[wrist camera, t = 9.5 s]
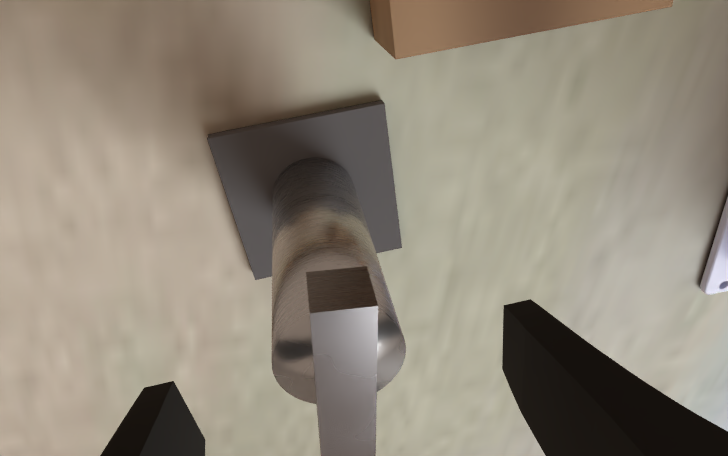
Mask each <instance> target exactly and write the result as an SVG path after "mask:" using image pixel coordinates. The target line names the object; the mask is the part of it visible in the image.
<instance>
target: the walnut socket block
mask: <svg viewBox="0 0 728 456" xmlns="http://www.w3.org/2000/svg"><path fill="white" fill-rule="evenodd" d="M672 4H673V0H370V7H371V15H372V24H373V32H374V40H375V41H376V42H378V43H379V44H380V45H381V46H382V47H383V48H384V49H385V50H386V51H387V52H388V53H389V54H390V55H392V56H393V57H394V58H395V59H400V58H405V57H411V56H416V55H421V54H426V53H431V52H437V51H442V50H447V49H452V48H458V47H463V46H468V45H473V44H478V43H484V42H489V41H494V40H499V39H505V38H510V37H515V36H520V35H526V34H531V33H536V32H541V31H546V30H552V29H557V28H562V27H567V26H573V25H578V24H583V23H588V22H593V21H599V20H604V19H609V18H614V17H620V16H625V15H630V14H635V13H641V12H646V11H651V10H656V9H661V8H667V7H672Z"/></svg>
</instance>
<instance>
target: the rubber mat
mask: <svg viewBox="0 0 728 456" xmlns="http://www.w3.org/2000/svg"><path fill="white" fill-rule="evenodd" d="M207 140H208V143H209V146H210V149H211V151H212V154H213V157H214V160H215V163H216V166H217V169H218V172H219V175H220V178H221V181H222V184H223V187H224V190H225V193H226V195H227V198H228V201H229V204H230V207H231V210H232V213H233V216H234V219H235V222H236V225H237V228H238V231H239V234H240V236H241V239H242V242H243V245H244V248H245V251H246V254H247V257H248V260H249V263H250V266H251V269H252V272H253V275H254V277H255V280H257V279H262V278H266V277H271V276H272V210H273V188H274V184H275V182H276V179H277V178H278V176H279V175H280V173H281V172H282V171H283V170H284V169H285V168H286V167H288V166H289V165H290V164H292V163H294V162H296V161H299V160H301V159H305V158H324V159H328V160H331V161H334V162H335V163H337V164H339V165H340V166H342V167H343V168H344V169H345V170H346V171H347V172H348V174H349V175H350V177H351V179H352V181H353V183H354V187H355V190H356V193H357V196H358V199H359V202H360V205H361V208H362V211H363V214H364V217H365V220H366V223H367V226H368V230H369V233H370V236H371V239H372V242H373V245H374V248H375V251H376V253H380V252H384V251H389V250H393V249H398V248H402V244H401V236H400V228H399V220H398V211H397V203H396V195H395V187H394V178H393V170H392V162H391V154H390V146H389V137H388V129H387V121H386V113H385V104H384V102H383V101H382V100H381V101H376V102H371V103H366V104H361V105H356V106H350V107H345V108H340V109H335V110H330V111H325V112H320V113H315V114H310V115H305V116H300V117H295V118H290V119H285V120H280V121H274V122H269V123H264V124H259V125H254V126H249V127H244V128H239V129H234V130H229V131H224V132H219V133H214V134H209V135H208V138H207Z"/></svg>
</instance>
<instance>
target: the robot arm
mask: <svg viewBox="0 0 728 456" xmlns="http://www.w3.org/2000/svg"><path fill="white" fill-rule="evenodd" d="M700 289H701V290H702V291H703V292H704V293H706V294H708V295H710V294H716V293H720V292H724V291H728V197H727V200H726V204H725V207H724V210H723V213H722V216H721V220H720V223H719V226H718V229H717V232H716V236H715V239H714V242H713V245H712V249H711V252H710V255H709V258H708V261H707V265H706V268H705V271H704V274H703V278H702V281H701V284H700ZM502 369H503V372H504V374H505V376H506V379H507V381H508V383H509V386H510V388H511V391H512V393H513V395H514V397H515V400H516V402H517V404H518V406H519V409H520V411H521V413H522V415H523V416H524V418H525V420H526V422H527V424H528V425H529V427H530V429H531V431H532V432H533V434H534V436H535V438H536V439H537V441H538V443H539V445H540V446H541V448H542V450H543V452H544V453H545V455H546V456H728V432H727V431H726V430H724V429H722V428H720V427H718V426H717V425H715V424H713V423H711V422H709V421H708V420H706V419H704V418H702V417H701V416H699V415H697V414H695V413H694V412H692V411H690V410H689V409H687V408H685V407H684V406H682V405H680V404H679V403H677V402H675V401H674V400H672V399H671V398H669V397H668V396H666V395H664V394H663V393H661V392H660V391H658V390H657V389H655V388H653V387H652V386H650V385H649V384H647V383H646V382H644V381H643V380H641V379H640V378H638V377H637V376H635V375H634V374H632V373H631V372H629V371H628V370H626V369H625V368H623V367H622V366H621V365H619V364H618V363H616V362H615V361H613V360H612V359H611V358H609V357H608V356H606V355H605V354H603V353H602V352H601V351H599V350H598V349H596V348H595V347H594V346H592V345H591V344H589V343H588V342H587V341H585V340H584V339H583V338H581V337H580V336H579V335H577V334H576V333H575V332H573V331H572V330H571V329H569V328H568V327H567V326H565V325H564V324H563V323H561V322H560V321H559V320H557V319H556V318H555V317H553V316H552V315H551V314H549V313H548V312H547V311H545V310H544V309H543V308H542V307H540V306H539V305H538V304H536V303H535V302H533V301H532V300H531V299H530V300H526V301H521V302H517V303H513V304H508V305H504V319H503V366H502ZM100 456H205V439H204V437H203V435H202V433H201V431H200V429H199V427H198V426H197V424H196V422H195V420H194V418H193V416H192V414H191V413H190V411H189V409H188V407H187V405H186V403H185V401H184V400H183V398H182V396H181V394H180V392H179V390H178V388H177V387H176V385H175V383H174V381H172V382H168V383H163V384H159V385H154V386H150V387H146V388H144V389H143V390H142V392H141V393H140V395H139V396H138V398H137V399H136V401H135V402H134V404H133V406H132V407H131V409H130V410H129V412H128V413H127V415H126V416H125V418H124V420H123V421H122V423H121V424H120V426H119V427H118V429H117V431H116V432H115V434H114V435H113V437H112V438H111V440H110V441H109V443H108V445H107V446H106V448H105V449H104V451H103V452H102V454H101V455H100Z"/></svg>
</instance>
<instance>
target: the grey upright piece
mask: <svg viewBox="0 0 728 456" xmlns="http://www.w3.org/2000/svg"><path fill="white" fill-rule="evenodd" d="M405 353H406V345H405V340H404V337H403V334H402V331H401V328H400V325H399V322H398V318H397V315H396V312H395V309H394V306H393V303H392V300H391V297H390V294H389V291H388V288H387V285H386V282H385V279H384V276H383V272H382V269H381V266H380V263H379V260H378V257H377V254H376V251H375V248H374V245H373V242H372V239H371V236H370V233H369V230H368V226H367V223H366V220H365V217H364V214H363V211H362V208H361V205H360V202H359V199H358V196H357V193H356V190H355V187H354V183H353V181H352V179H351V177H350V175H349V174H348V172H347V171H346V170H345V169H344V168H343V167H342V166H340V165H339V164H337V163H335V162H334V161H331V160H328V159H324V158H305V159H301V160H299V161H296V162H294V163H292V164H290V165H289V166H288V167H286V168H285V169H284V170H283V171H282V172H281V173H280V175H279V176H278V178H277V179H276V182H275V184H274V188H273V210H272V370H273V374H274V376H275V378H276V380H277V382H278V383H279V385H280V386H281V387H282V388H283V389H284V390H285V391H286V392H288V393H289V394H290V395H292V396H294V397H296V398H298V399H300V400H303V401H306V402H310V403H315V404H317V415H318V427H319V438H320V449H321V456H375V454H376V399H377V391H379V390H381V389H382V388H383V387H385V386H386V385H387V384H388V383H389V382H390V381H391V380H392V379H393V378H394V377H395V376H396V375H397V373H398V372H399V370H400V369H401V366H402V364H403V362H404V359H405Z"/></svg>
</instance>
